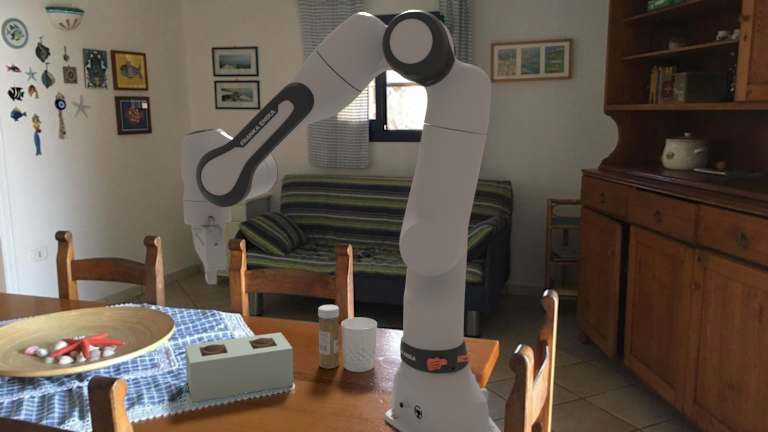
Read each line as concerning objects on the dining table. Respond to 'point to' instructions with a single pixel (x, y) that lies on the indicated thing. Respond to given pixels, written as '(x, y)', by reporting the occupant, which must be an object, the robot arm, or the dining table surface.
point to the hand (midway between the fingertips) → (211, 282)
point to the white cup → (359, 343)
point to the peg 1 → (213, 349)
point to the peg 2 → (262, 343)
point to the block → (238, 367)
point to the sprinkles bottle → (328, 336)
